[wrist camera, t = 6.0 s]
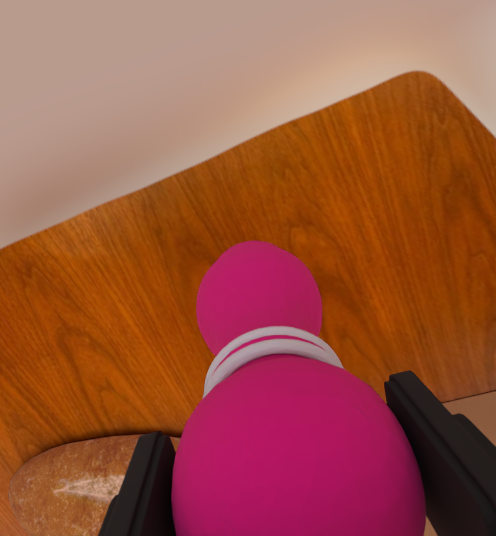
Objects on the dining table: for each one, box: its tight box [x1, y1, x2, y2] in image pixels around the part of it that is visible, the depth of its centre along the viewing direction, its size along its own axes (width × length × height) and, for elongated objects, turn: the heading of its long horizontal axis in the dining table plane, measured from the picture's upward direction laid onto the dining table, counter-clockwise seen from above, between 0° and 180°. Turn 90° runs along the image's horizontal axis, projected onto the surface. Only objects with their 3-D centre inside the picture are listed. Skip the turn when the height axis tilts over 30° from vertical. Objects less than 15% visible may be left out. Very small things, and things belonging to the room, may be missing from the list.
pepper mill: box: [171, 241, 426, 536], centre depth 14 cm, size 7×7×20 cm
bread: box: [8, 434, 181, 536], centre depth 41 cm, size 18×35×9 cm, turn 85°
